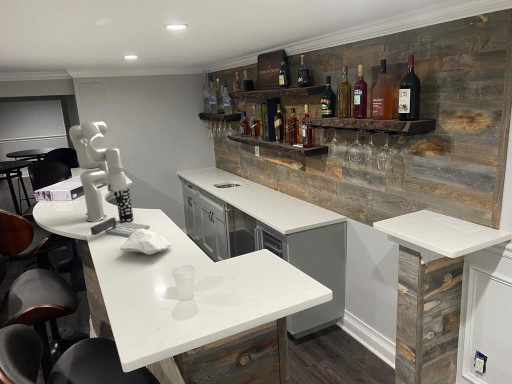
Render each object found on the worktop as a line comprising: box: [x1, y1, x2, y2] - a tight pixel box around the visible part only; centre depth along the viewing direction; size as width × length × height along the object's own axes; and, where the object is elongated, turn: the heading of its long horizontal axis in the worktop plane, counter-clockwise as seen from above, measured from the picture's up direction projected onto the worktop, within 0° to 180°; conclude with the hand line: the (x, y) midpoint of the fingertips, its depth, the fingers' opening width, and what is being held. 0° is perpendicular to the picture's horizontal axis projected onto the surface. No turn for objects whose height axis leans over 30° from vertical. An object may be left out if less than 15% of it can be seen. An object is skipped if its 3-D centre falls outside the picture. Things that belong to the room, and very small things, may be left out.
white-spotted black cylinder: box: [116, 188, 135, 224], centre depth 240 cm, size 8×8×20 cm
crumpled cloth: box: [119, 228, 172, 255], centre depth 191 cm, size 24×35×9 cm
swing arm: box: [90, 217, 118, 236], centre depth 217 cm, size 19×3×4 cm, turn 162°
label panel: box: [104, 222, 151, 238], centre depth 224 cm, size 19×16×3 cm
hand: (119, 202), depth 217 cm, fingers closed
